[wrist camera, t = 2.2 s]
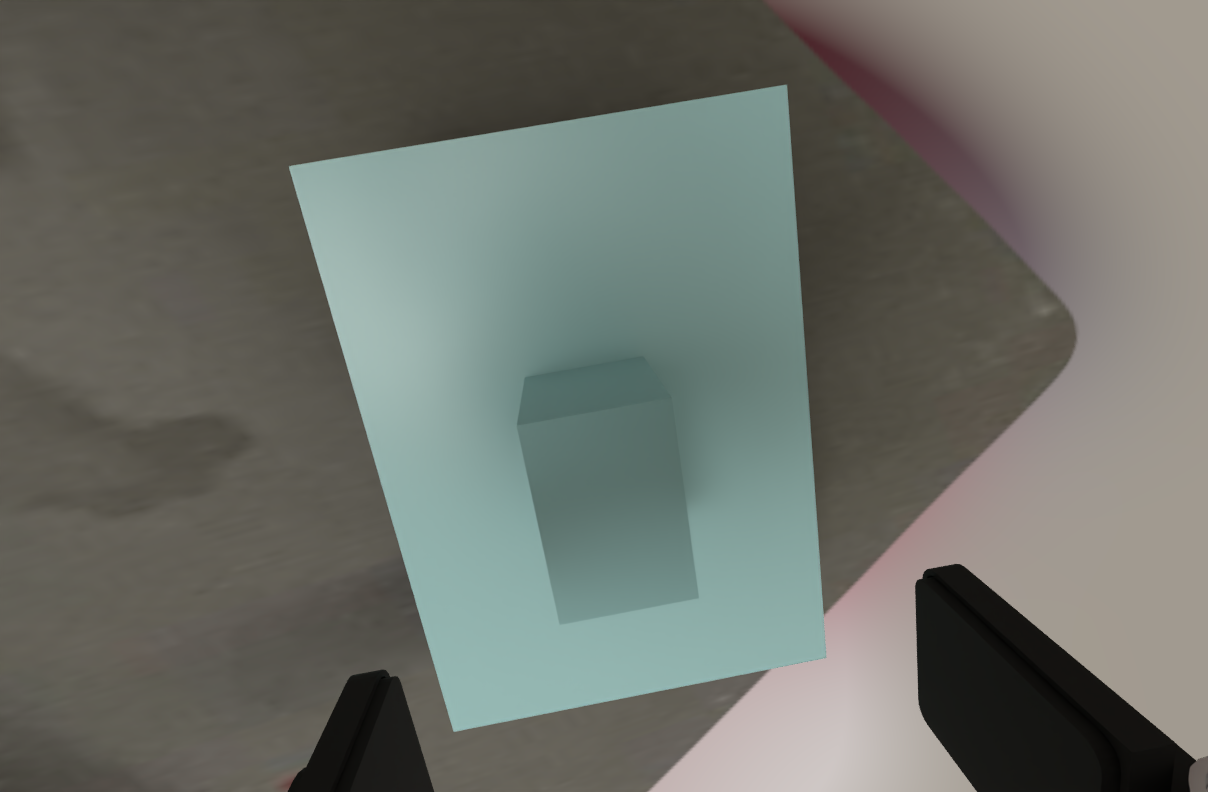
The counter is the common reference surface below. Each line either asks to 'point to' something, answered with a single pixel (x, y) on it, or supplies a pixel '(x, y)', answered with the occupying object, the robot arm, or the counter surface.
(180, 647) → the counter surface
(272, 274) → the counter surface
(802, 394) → the lid
